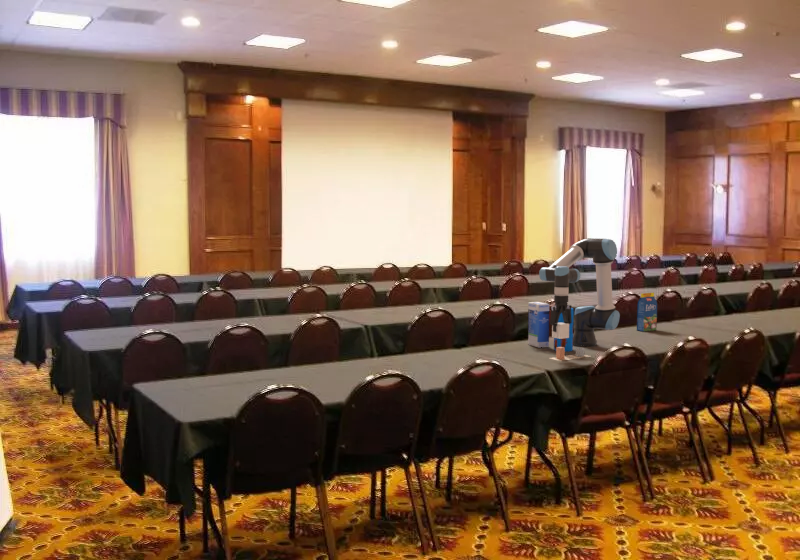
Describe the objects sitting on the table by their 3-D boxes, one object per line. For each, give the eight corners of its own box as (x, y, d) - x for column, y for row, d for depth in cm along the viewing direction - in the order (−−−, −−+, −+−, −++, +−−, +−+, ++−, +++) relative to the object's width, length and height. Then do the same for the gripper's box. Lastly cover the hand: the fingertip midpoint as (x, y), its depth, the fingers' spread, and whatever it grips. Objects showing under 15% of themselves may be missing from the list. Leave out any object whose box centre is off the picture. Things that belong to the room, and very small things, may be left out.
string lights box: (549, 347, 507) (550, 304, 505) (538, 348, 505) (538, 304, 502) (538, 343, 520) (538, 301, 517) (527, 344, 517) (527, 301, 515)
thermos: (572, 353, 487) (573, 309, 485) (553, 352, 489) (554, 309, 487) (572, 350, 498) (573, 307, 495) (554, 349, 500) (554, 306, 497)
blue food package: (636, 330, 570) (637, 293, 567) (649, 329, 576) (650, 292, 573) (643, 331, 564) (644, 294, 562) (656, 330, 570) (657, 292, 568)
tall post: (560, 357, 470) (560, 346, 469) (564, 358, 467) (564, 347, 466) (556, 358, 468) (556, 347, 467) (560, 359, 465) (560, 348, 465)
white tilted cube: (560, 336, 471) (560, 322, 470) (568, 337, 465) (569, 323, 465) (551, 337, 467) (552, 323, 466) (560, 338, 462) (560, 324, 461)
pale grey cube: (579, 355, 477) (580, 348, 476) (584, 356, 474) (584, 349, 474) (575, 355, 475) (575, 348, 474) (580, 356, 472) (580, 349, 472)
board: (579, 355, 481) (579, 353, 481) (591, 357, 474) (591, 356, 474) (548, 360, 468) (548, 358, 468) (560, 362, 461) (560, 360, 460)
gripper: (569, 293, 472) (568, 334, 475) (543, 295, 462) (542, 337, 464) (579, 294, 466) (578, 336, 468) (553, 296, 455) (552, 339, 458)
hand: (560, 337), depth 466 cm, fingers closed on white tilted cube, 6 cm apart
